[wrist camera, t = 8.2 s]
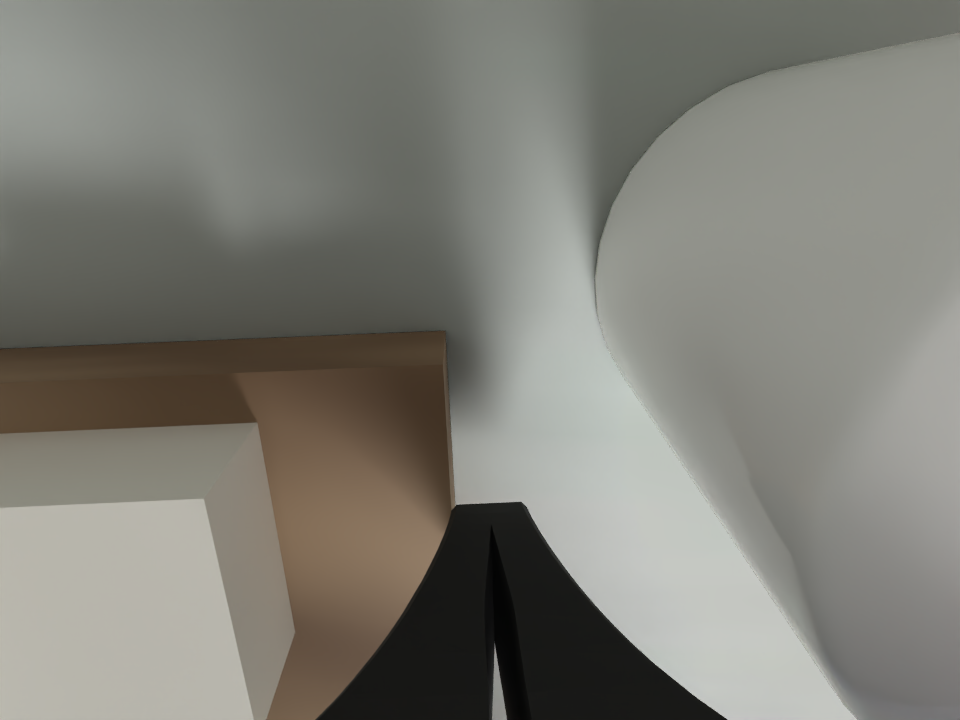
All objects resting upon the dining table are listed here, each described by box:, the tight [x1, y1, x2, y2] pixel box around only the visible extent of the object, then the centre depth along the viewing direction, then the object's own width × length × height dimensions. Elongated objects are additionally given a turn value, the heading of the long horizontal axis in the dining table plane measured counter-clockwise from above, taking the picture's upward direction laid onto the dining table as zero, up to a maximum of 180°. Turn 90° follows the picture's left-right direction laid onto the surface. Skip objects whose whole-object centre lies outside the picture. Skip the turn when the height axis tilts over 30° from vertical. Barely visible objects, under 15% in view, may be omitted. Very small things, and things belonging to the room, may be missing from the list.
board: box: [0, 331, 455, 720], centre depth 14 cm, size 14×12×2 cm
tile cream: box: [0, 423, 295, 720], centre depth 11 cm, size 5×5×2 cm
